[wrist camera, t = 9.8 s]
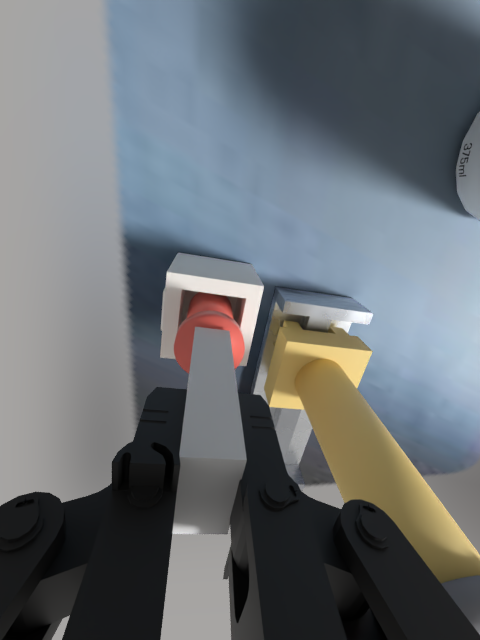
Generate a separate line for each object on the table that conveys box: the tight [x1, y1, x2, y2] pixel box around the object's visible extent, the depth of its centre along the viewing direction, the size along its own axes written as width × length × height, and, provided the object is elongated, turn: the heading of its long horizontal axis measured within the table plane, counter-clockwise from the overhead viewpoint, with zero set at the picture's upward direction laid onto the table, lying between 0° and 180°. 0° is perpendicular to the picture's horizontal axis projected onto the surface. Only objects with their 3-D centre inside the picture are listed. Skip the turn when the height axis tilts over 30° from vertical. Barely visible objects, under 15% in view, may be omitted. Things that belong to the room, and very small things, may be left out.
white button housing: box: [160, 253, 264, 366], centre depth 18 cm, size 5×5×5 cm
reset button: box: [174, 292, 245, 373], centre depth 15 cm, size 3×3×5 cm
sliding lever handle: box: [264, 320, 480, 634], centre depth 14 cm, size 5×6×15 cm
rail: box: [250, 287, 373, 491], centre depth 23 cm, size 17×6×3 cm, turn 170°
